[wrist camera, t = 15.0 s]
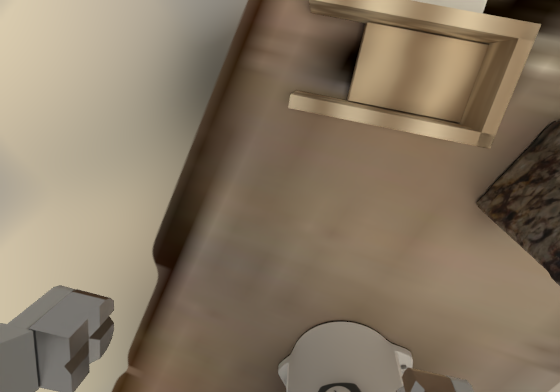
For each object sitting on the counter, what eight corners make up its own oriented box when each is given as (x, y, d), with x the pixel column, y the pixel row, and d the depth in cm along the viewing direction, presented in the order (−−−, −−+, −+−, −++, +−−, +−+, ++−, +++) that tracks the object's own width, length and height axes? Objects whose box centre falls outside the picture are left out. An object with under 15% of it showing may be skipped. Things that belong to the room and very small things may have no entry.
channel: (497, 33, 33) (541, 24, 26) (459, 134, 36) (489, 148, 30) (313, -1, 34) (311, -19, 27) (293, 101, 37) (288, 107, 31)
